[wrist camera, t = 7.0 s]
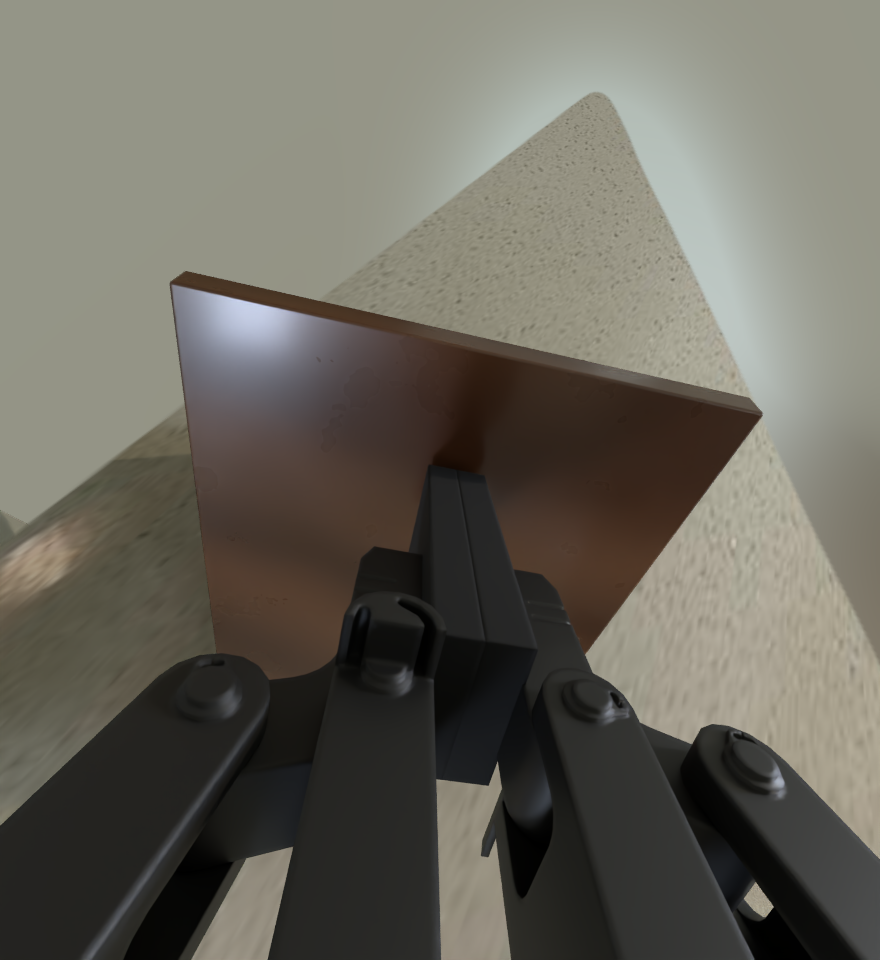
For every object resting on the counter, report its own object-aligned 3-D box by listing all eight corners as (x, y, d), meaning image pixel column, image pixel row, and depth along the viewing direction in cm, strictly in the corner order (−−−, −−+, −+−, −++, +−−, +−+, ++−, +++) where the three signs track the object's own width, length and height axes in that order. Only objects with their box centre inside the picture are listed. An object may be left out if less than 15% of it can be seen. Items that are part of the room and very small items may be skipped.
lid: (184, 269, 11) (167, 281, 10) (750, 396, 12) (765, 413, 12) (226, 662, 21) (219, 680, 20) (532, 706, 22) (534, 723, 22)
